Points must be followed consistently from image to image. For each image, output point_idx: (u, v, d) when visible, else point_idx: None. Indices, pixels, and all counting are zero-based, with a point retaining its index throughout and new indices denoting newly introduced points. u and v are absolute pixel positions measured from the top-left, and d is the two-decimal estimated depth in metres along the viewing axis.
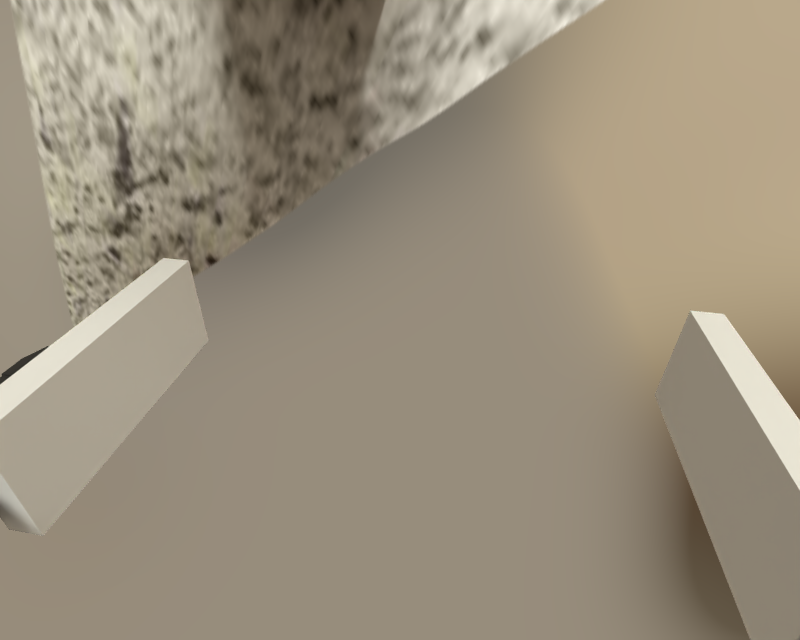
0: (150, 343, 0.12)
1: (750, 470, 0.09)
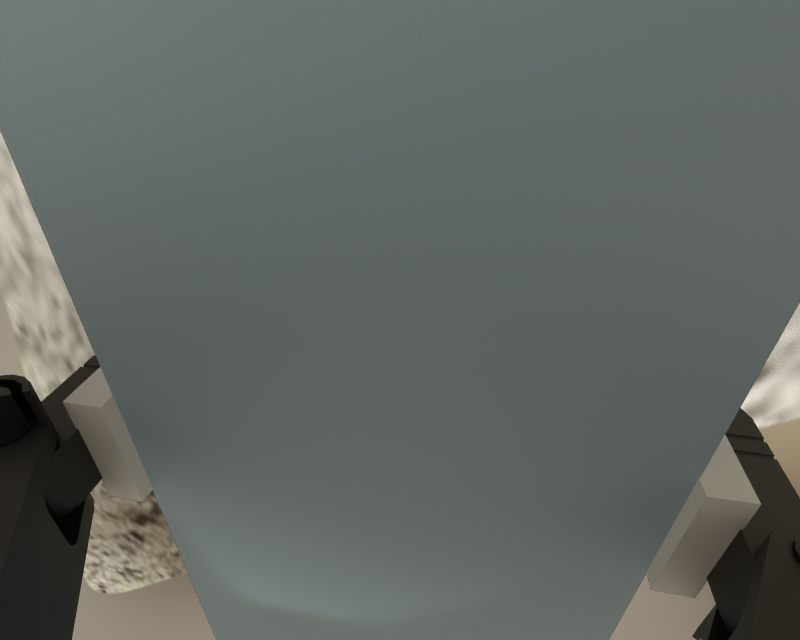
0: None
1: None
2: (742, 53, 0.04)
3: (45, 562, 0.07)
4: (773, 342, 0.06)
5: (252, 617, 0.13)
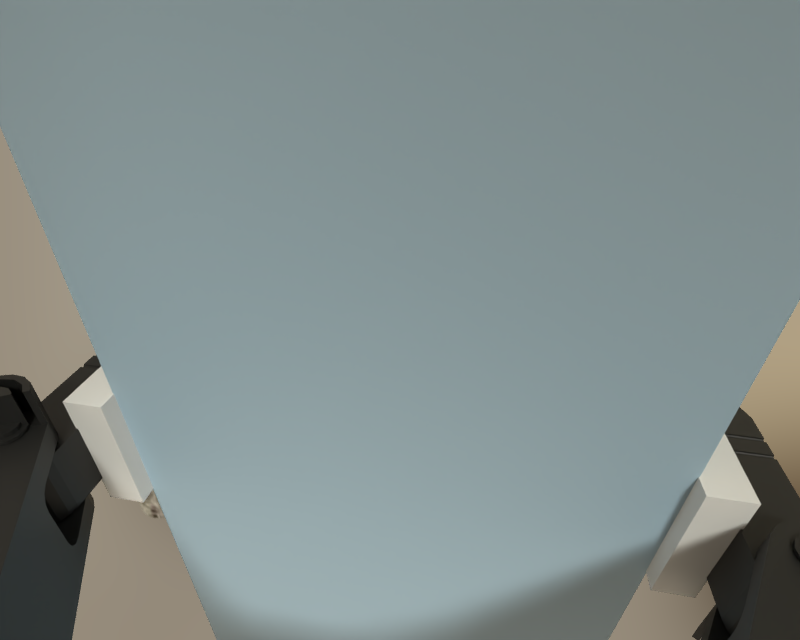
0: None
1: None
2: (740, 55, 0.04)
3: (45, 562, 0.07)
4: (772, 342, 0.06)
5: (252, 617, 0.13)
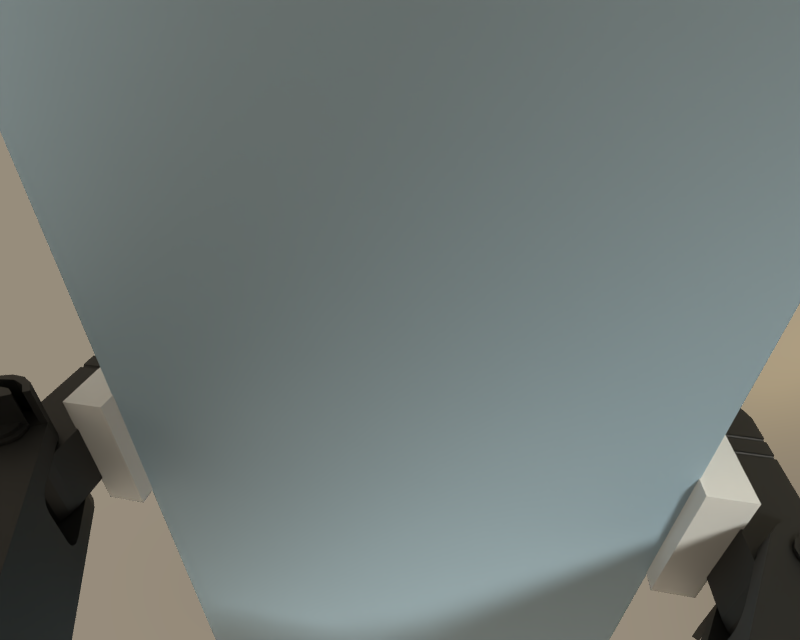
0: None
1: None
2: (740, 58, 0.04)
3: (45, 562, 0.07)
4: (773, 345, 0.06)
5: (251, 618, 0.13)
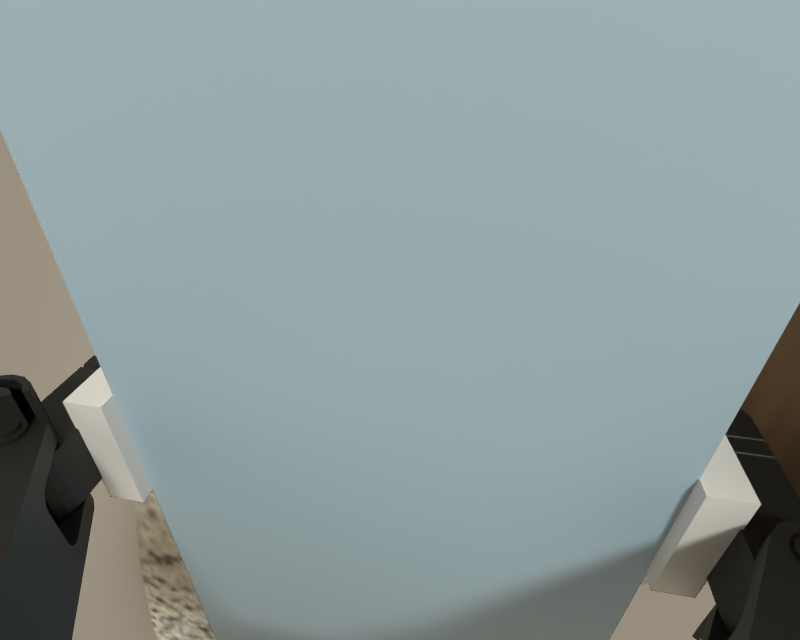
0: None
1: None
2: (739, 61, 0.04)
3: (45, 562, 0.07)
4: (772, 346, 0.06)
5: (252, 618, 0.13)
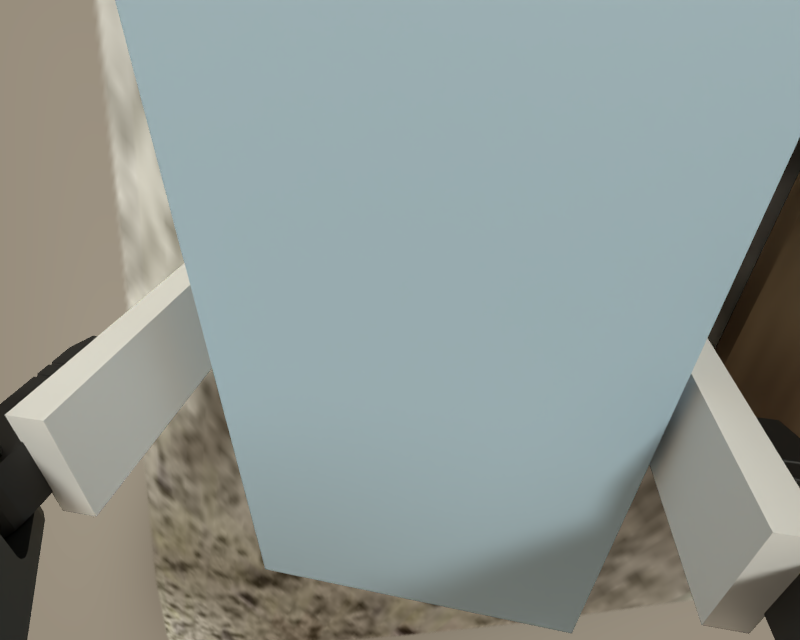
0: (189, 333, 0.12)
1: (696, 440, 0.09)
2: (699, 55, 0.06)
3: None
4: (734, 276, 0.08)
5: (298, 542, 0.15)
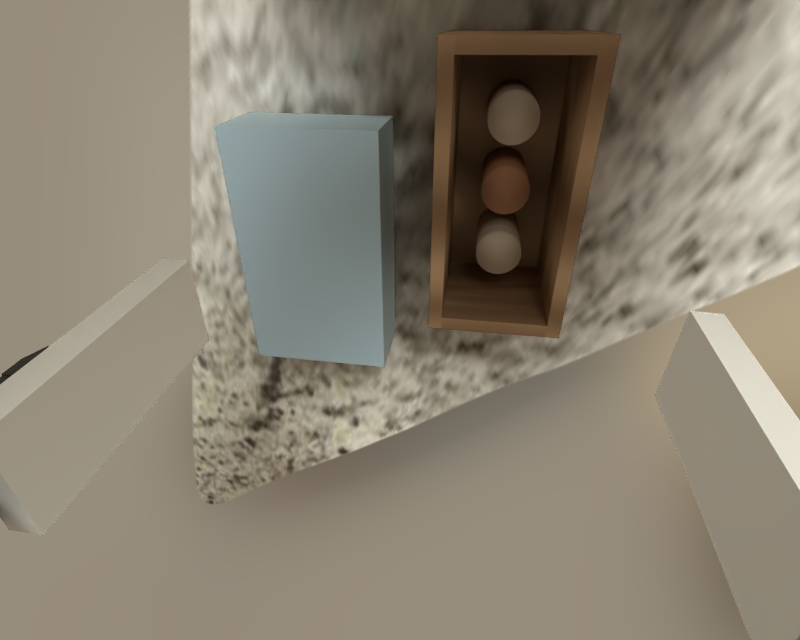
0: (150, 343, 0.12)
1: (750, 470, 0.09)
2: (352, 155, 0.29)
3: None
4: (380, 208, 0.30)
5: (272, 334, 0.37)
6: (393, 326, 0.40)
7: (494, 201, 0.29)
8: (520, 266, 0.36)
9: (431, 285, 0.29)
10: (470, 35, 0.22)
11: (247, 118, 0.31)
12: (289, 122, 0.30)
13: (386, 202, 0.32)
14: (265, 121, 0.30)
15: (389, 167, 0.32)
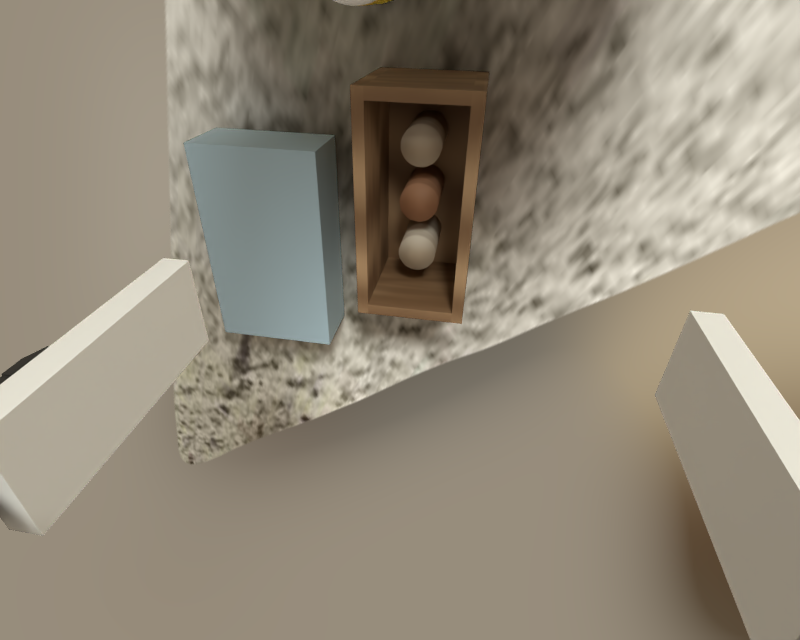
0: (150, 343, 0.12)
1: (750, 470, 0.09)
2: (295, 170, 0.35)
3: None
4: (319, 213, 0.37)
5: (236, 315, 0.43)
6: (341, 310, 0.47)
7: (410, 211, 0.35)
8: (445, 263, 0.43)
9: (358, 278, 0.36)
10: (374, 86, 0.28)
11: (212, 134, 0.37)
12: (246, 140, 0.36)
13: (328, 207, 0.39)
14: (226, 138, 0.37)
15: (331, 178, 0.39)
